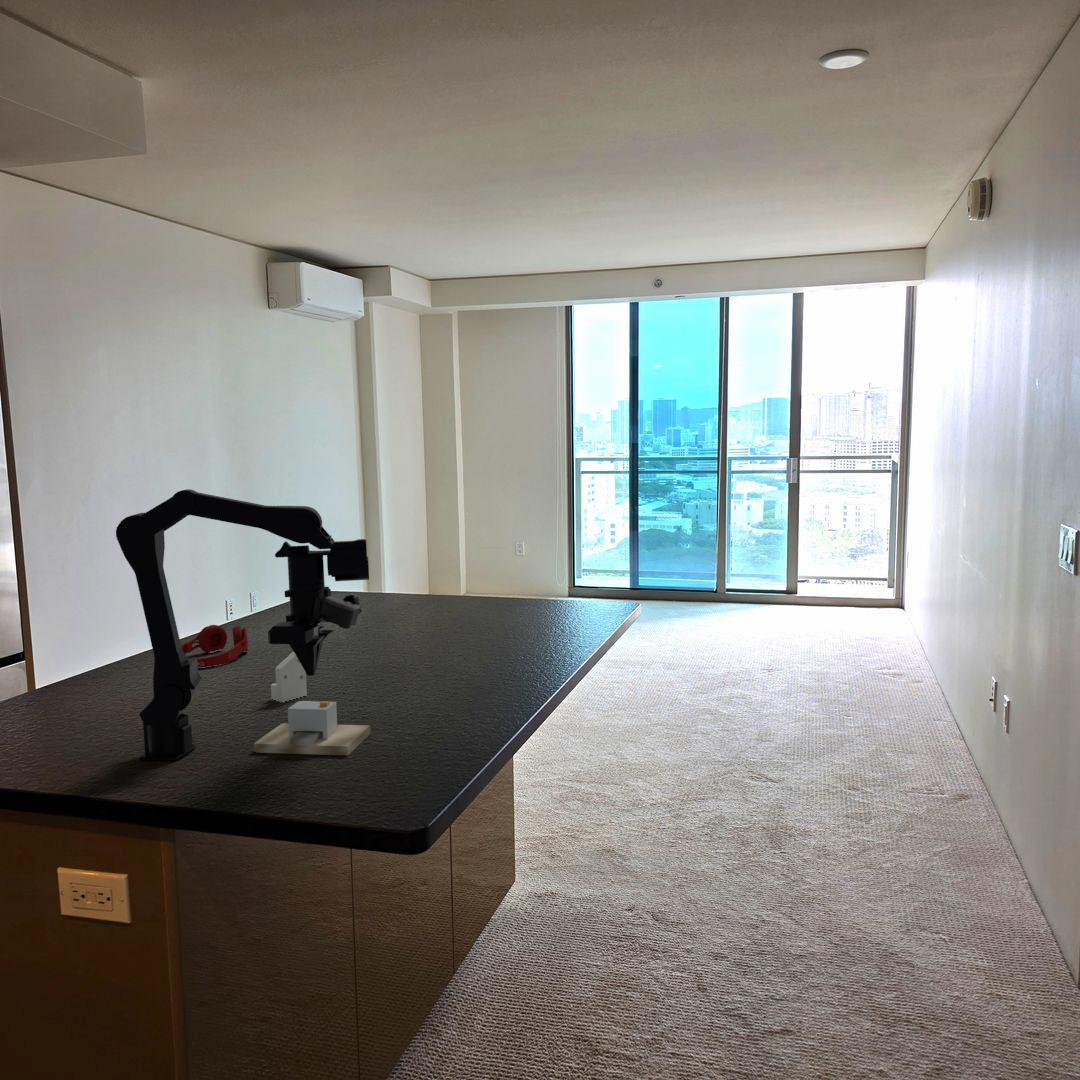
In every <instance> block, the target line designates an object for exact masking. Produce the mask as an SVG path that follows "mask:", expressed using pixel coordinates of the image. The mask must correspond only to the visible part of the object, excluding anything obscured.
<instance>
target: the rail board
mask: <svg viewBox="0 0 1080 1080" xmlns="http://www.w3.org/2000/svg"><path fill="white" fill-rule="evenodd" d="M370 735H371V725H370V724H369V725H367V724H366V725H365V724H364V725H363V724H361V725H360V724H337V732H335V733H334V734H333V735H332V736H331V737H330V738H328V739H323V731H299V732H298V733H296V734H295V735H294V736H293V737H291V738H289V726H288V723H287V722H285V723H283V722H282V723H280V724H279V725H278V726H277V727H275V728H273V729H272V730H271V731H269V732H268V733H267V734H265V735H264V736H262V737H261V738H259V739H258V740H257V741H255V742H254V743H253V753H254V752H256V754H257V753H258V754H259V753H260V754H290V755H293V754H294V755H321V756H322V755H324V756H325V755H328V756H349V755H350V754H351V753H352V752H353V751H354V750H355V749H356V748H357V747H358V746H359V745H361V743H362V742H364V741H365V740H366V739H367V737H369V736H370Z"/></svg>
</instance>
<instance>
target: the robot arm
mask: <svg viewBox="0 0 1080 1080" xmlns="http://www.w3.org/2000/svg"><path fill="white" fill-rule="evenodd" d="M188 516H193V517H198V518H204V519H210V520H214V521H220V522H225V523H231V524H235V525H241V526H245V527H251V528H257V529H261V530H263V531H267V532H269V533H271V534H274V535H276V536H278V537H280V538H283V539H286V540H289V541H291V542H294V543H296V544H307V545H291V544H289V542H288V541H284V542H283V543H282V545H281V547H280V549H278V550H277V551H276V553H275V554H274V557H275V558H287V571H288V575H287V576H288V589H287V590H285V591H284V598H289V608H290V609H289V611H290V612H289V614H288V615H285V621H280V622H279V623H277V624H275V625H273V626H272V627H271V628H270V629H269V630H268V631H267V638H268V639H267V640H268V644H269V645H289V646H290V648H291V650H292V652H293V651H294V653H295V654H296V656H297V658H298V660H299V661H300V663H301V665H302V667H303V668H304V670H305V672H306V676H308V677H313V676H315V675H316V674H317V673H316V672H317V669H318V664H319V661H320V655H321V652H322V647H323V644H324V642H325V640H327V638H328V637H330V635H331V634H333V633H334V630H333V629H326V626H325V625H324V624H325V623H331V624H335V625H337V626H338V627H339V628H342V629H347V630H348V629H350V628H351V627H352V626H355V625H356V623H357V621H358V618H359V615H361V613H362V610H363V609H362V604H360V599H359V596H358V595H356V594H353V593H349V594H347V595H345V597H344V598H343V599H342V597H335V596H332V593H331V591H332V590H331V588H330V586H325V567H324V564H325V563H324V556H326V562H327V564H326V567H327V576H330V577H331V578H334V581H335V582H347V581H348V582H351V581H366V580H367V581H368V580H370V571H369V570H370V569H369V568H370V566H369V564H370V563H369V556H368V552H367V551H368V548H367V539H366V538H364V539H363V538H358V539H355V540H342V541H341V540H338V541H337V540H336V541H335V540H334V538H332V535H331V534H329V533H328V532H327V530H326V529H325V528H324V527H323V520H322V517H321V515H320V513H319V511H317V510H316V509H315V508H313V507H311V506H306V505H305V506H304V505H264V504H259V503H254V502H249V501H243V500H239V499H238V500H237V499H233V498H228V497H223V496H218V495H213V494H209V493H208V494H207V493H202V492H198V491H196V490H194V489H189V488H187V489H182V490H180V491H177V492H176V493H174V494H173V496H172V497H169V498H168V499H167V500H165V501H163V502H161V503H160V504H158V505H156V506H154V507H153V508H151V509H149V510H147V511H146V512H140V513H136V514H132V515H130V516H129V515H128V516H126V517H124V518H123V519H122V520H121V521H119V523H118V525H117V526H116V529H115V537H116V540H117V543H118V544H119V547H120V549H121V552H122V554H123V556H124V558H125V560H126V561H127V563H128V564H129V566H130V568H131V570H132V571H133V572H134V575H135V579H136V584H137V587H138V591H139V595H140V600H141V605H142V609H143V613H144V618H145V622H146V626H147V627H146V628H147V630H148V636H149V639H150V643H151V648H152V652H153V656H154V657H153V658H154V662H153V663H154V664H153V677H152V686H153V689H152V690H153V698H152V699H151V700H150V701H149V702H148V704H147V705H146V706H145V707H144V708H143V709H142V711H141V712H140V713H139V716H140V719H141V721H142V732H143V747H144V752H143V753H141V754H140V755H139V756H138V759H139V760H148V761H151V760H152V761H153V760H156V761H176V760H179V759H180V758H182V757H183V756H185V755H187V754H188V753H189V752H191V751H193V750H195V749H196V744H193V736H192V735H193V734H192V732H193V731H192V724H191V723H189V714H184V713H183V711H184V710H186V709H187V707H188V706H189V705H190V703H191V702H192V700H193V699H194V698H195V696H196V694H197V693H198V691H199V688H200V682H201V681H202V680H203V678H202V676H201V674H200V673H199V669H198V668H197V659H198V657H197V656H194V657H191V658H188V657H187V654H185V653H184V652H183V650H182V648H181V645H182V644H181V640H180V636H179V631H178V626H177V622H176V618H175V613H174V609H173V604H172V600H171V596H170V591H169V586H168V582H167V578H166V573H165V569H164V559H165V549H166V548H165V547H166V546H165V544H166V542H165V532H166V531H168V530H169V529H171V528H172V527H173V526H175V525H177V524H178V523H179V522H180V521H183V520H184V519H185V518H186V517H188ZM308 544H310V545H311V546H313V547H314V548H316V549H319V550H310V546H309V545H308Z"/></svg>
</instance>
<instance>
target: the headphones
mask: <svg viewBox="0 0 1080 1080" xmlns="http://www.w3.org/2000/svg"><path fill="white" fill-rule="evenodd" d="M232 638H233V647H232V648H230V649H228V650H226V651H224V652H222V653H219V654H217V655H211V656H208V657H200V658H197V667H206V666H213V665H219V664H222V665H224V663H225V664H228V663H229V662H231V661H233V660H235V659H236V658H238V657H239V656H240V654H241V653H243V651H244V652H246V651H248V652H249V641H248V632H247V628H246V626H244V627H243V628H242V627H241V625H234V626H233V628H232ZM227 641H228V633H227V631H226V630H225V628H224V627H222V626H220V625H217V624H210V625H207V626H205V627H203V629H201V630H200V631H199V633H198V635H197V636H196V637H193V638H192V639H191V640H189V641H188V642H187V641H186V642H184V643H182V644H181V648H182V650H183V652H184V653H185V655H187V654H189V653H191V652H192V651H194V650H196V649H197V648H200V649H201V651H203V653H204V652H205V653H206V652H210V651H215V650H219V649H222V650H223V649H224V648H225V647H226V645H227ZM193 644H196V645H194V646H193ZM227 662H228V663H227Z"/></svg>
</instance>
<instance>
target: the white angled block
mask: <svg viewBox="0 0 1080 1080" xmlns="http://www.w3.org/2000/svg"><path fill="white" fill-rule="evenodd" d="M274 668H275V670H274V671H275V672H274V673H275V683H272V684H270V693H271V700H272V699H273V700H272V701H274V700H276V701H275V702H278V701H279V702H278V703H282V702H283V703H286V702H285V701H287V702H290V701H289V700H291V701H294V700H293V699H295V700H297V699H296V698H298V699H301V698H300V697H302V698H304V697H303V696H306V697H308V693H307V692H308V691H307V688H308V687H307V674H306V672H305V670H304V668H303V667H302V665H301V663H300V661H299V660H298V658H297V656H296V654H295V653H294V651H293V650H292V652H291V653H289V655H287V657H285V659H283V660H282V661H281V662H280V663H279V664H278V665H277V666H276V667H274Z"/></svg>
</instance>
